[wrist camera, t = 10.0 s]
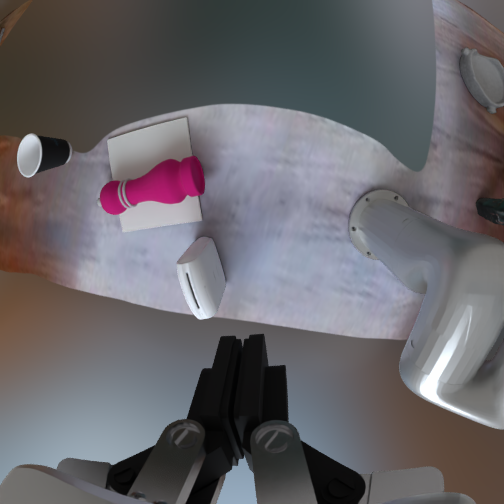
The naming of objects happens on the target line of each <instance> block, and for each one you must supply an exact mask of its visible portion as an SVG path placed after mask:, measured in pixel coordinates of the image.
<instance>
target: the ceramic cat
mask: <svg viewBox="0 0 504 504" xmlns="http://www.w3.org/2000/svg"><path fill="white" fill-rule="evenodd" d="M476 207H477V210H478V214H479V215H480V216H482V217H484V218H485V219H487V220H489V221H491V222H493V223H495V224H501V225H504V198H503V199H490V198H481V199H479V200H478V201H477V202H476Z"/></svg>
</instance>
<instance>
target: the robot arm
mask: <svg viewBox="0 0 504 504" xmlns="http://www.w3.org/2000/svg"><path fill="white" fill-rule="evenodd" d="M394 197H395V199H394ZM366 198H367V200H366ZM352 227H354V228H353V229H352ZM348 231H349V236H350V239H351V242H352V243H353V245H354V247H355V248H356V249H357V250H358V251H359V252H360V253H361V254H362V255H363V256H365V257H367V258H370V259H373V260H380V261H381V262H382V263H383V264H384V265H385V266H386V267H387V268H388V269H389V270H390V272H391V273H392V274H393V275H394V276H395V277H396V278H397V279H398V280H399V281H400V282H401V283H402V284H403V285H404V286H405V287H406V288H407V289H409V290H411V291H413V292H415V293H420V294H425V298H424V300H423V303H422V306H421V310H420V312H419V315H418V317H417V320H416V322H415V324H414V327H413V329H412V331H411V334H410V336H409V338H408V340H407V343H406V346H405V348H404V350H403V352H402V355H401V358H400V363H399V370H400V375H401V377H402V380H403V381H404V383H405V384H406V385H407V387H408V388H409V389H410V390H411V391H413V392H414V393H415V394H417V395H418V396H420V397H421V398H423V399H425V400H427V401H429V402H431V403H433V404H435V405H437V406H440V407H442V408H444V409H447V410H449V411H451V412H454V413H456V414H459V415H461V416H464V417H466V418H468V419H471V420H473V421H476V422H479V423H481V424H484V425H486V426H490V427H493V428H496V429H504V339H503V341H502V343H501V345H500V347H499V348H498V350H497V352H496V354H495V356H494V357H493V359H492V360H488V361H487V360H485V359H486V357H487V356H488V354H489V352H490V350H491V348H492V346H493V345H494V344H495V342H496V340H497V338H498V336H499V334H500V332H501V330H502V328H503V326H504V243H503V242H502V241H500V240H498V239H496V238H494V237H491V236H488V235H485V234H480V233H476V232H471V231H467V230H463V229H460V228H456V227H453V226H451V225H448V224H446V223H443V222H441V221H439V220H437V219H434V218H432V217H430V216H427V215H426V214H423V213H421V212H418V211H416V210H414V209H411V208H409V206H408V204H407V202H406V201H405V200H404V199H403V198H402V197H401V196H400V195H399V194H397V193H395V192H392V191H389V190H384V189H381V190H374V191H371V192H369V193H367V194H365V195H364V196H363V197H361V198H360V199H359V200H358V201H357V203H356V204H355V205H354V207H353V209H352V211H351V214H350V217H349V222H348ZM367 252H368V253H367ZM244 455H245V458H246V460H247V463H248V466H249V468H250V470H251V471H252V472H253V473H254V481H255V489H256V497H257V504H476V503H475V502H474V501H473V500H472V499H471V498H470V497H468V496H467V495H464V494H460V493H451V492H450V493H449V492H444V479H443V476H442V473H441V472H440V471H439V470H438V469H437V468H434V467H421V468H413V469H405V470H394V471H379V472H372V473H371V474H358V473H357V472H355V471H353V470H351V469H349V468H348V467H346V466H344V465H342V464H340V463H338V462H337V461H335V460H333V459H331V458H330V457H328V456H326V455H324V454H323V453H321V452H319V451H318V450H316V449H314V448H312V447H311V446H309V445H308V444H306V443H305V442H303V441H301V440H300V436H299V433H298V431H297V429H296V428H295V427H294V426H293V425H292V424H290V423H289V421H288V395H287V378H286V366H285V365H280V366H268V359H267V352H266V344H265V337H264V334H256V335H250V336H249V339H244V345H243V346H242V342H241V339H236V336H222V337H221V338H220V341H219V344H218V348H217V352H216V355H215V359H214V363H213V366H212V368H204V369H203V370H202V371H201V374H200V377H199V381H198V384H197V387H196V390H195V394H194V397H193V400H192V403H191V406H190V410H189V413H188V416H187V419H182V420H177V421H175V422H172V423H171V424H169V425H168V426H167V427H166V428H165V429H164V431H163V433H162V434H161V436H160V438H159V440H158V441H157V443H156V445H154V446H152V447H150V448H148V449H146V450H144V451H142V452H140V453H138V454H136V455H134V456H132V457H129V458H127V459H125V460H123V461H120V462H118V463H117V464H115V465H111V464H110V463H108V462H97V461H88V460H81V459H74V458H66V459H64V460H62V461H61V462H60V463H59V465H58V467H57V470H56V469H53V468H50V467H47V466H42V465H33V464H25V465H19V466H17V467H15V468H14V469H12V470H11V471H10V472H9V474H8V475H7V476H6V478H5V479H4V480H3V482H2V484H1V485H0V504H216V503H217V500H218V497H219V494H220V492H221V489H222V486H223V483H224V480H225V476H226V473H227V472H229V471H230V470H232V466H238V460H239V459H243V458H244Z"/></svg>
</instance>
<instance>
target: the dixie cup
mask: <svg viewBox="0 0 504 504" xmlns="http://www.w3.org/2000/svg"><path fill="white" fill-rule="evenodd" d="M71 155H72V146H71V144H70V143H69V142H67V141H65V140H62V139H56V138H50V137H43V136H37V135H35V134H28V135H26V137H24V138H23V140H22V141H21V143H20V146H19V149H18V154H17V163H18V168H19V170H20V172H21V174H22V175H23V176H25V177H31V176H33V175H34V174H36V173H39V172H42V171H45V170H48V169H51V168H54V167H58V166H61V165H63V164H65V163H67V162H68V161H69V160H70V158H71Z"/></svg>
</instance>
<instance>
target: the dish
mask: <svg viewBox="0 0 504 504" xmlns="http://www.w3.org/2000/svg"><path fill="white" fill-rule="evenodd" d="M461 54H462V57H461V59H460V71H461V75H462V78H463V80H464V82H465V85H466V86H467V88H468V90H469V91H470V93H471V94H472V96H473V97H474V98H475V99H476V100H477V101H478V102H479V103H480V104H481V105H482V106H484V107H487V111H488V112H490V113H492V114H493V113H496V108H499V107H503V106H504V68H503V66H502V65H501V63H500V62H499V61H498V60H497V59H495V58H491V57H487V56H483V55H481V54H479V53H477V49H471V50H469V48H464V49H462V51H461Z"/></svg>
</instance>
